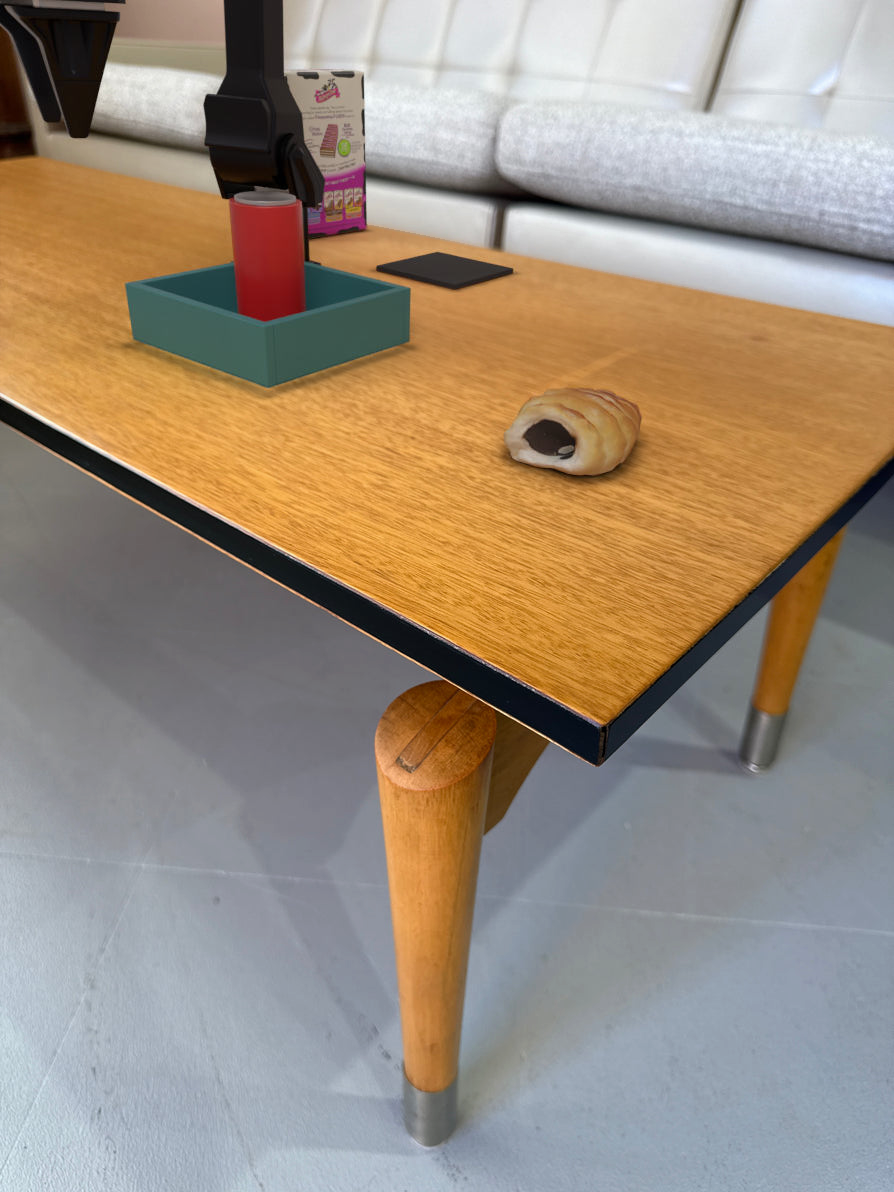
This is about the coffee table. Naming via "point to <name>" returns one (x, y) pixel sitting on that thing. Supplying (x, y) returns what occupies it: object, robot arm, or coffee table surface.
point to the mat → (445, 270)
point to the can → (268, 254)
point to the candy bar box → (334, 144)
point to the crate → (269, 322)
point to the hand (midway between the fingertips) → (64, 129)
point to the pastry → (574, 431)
